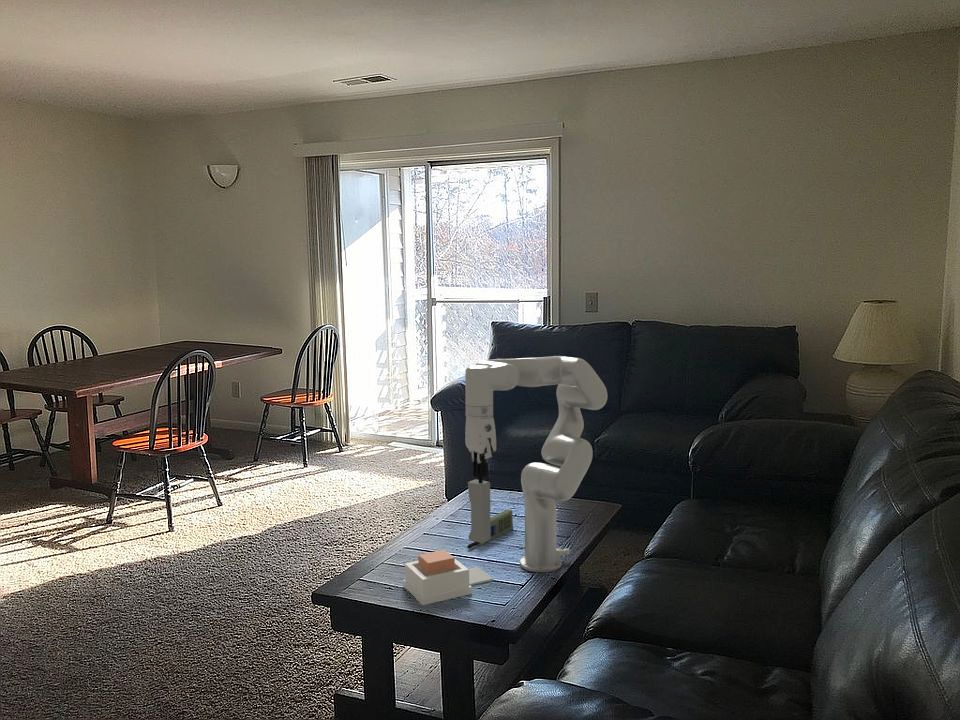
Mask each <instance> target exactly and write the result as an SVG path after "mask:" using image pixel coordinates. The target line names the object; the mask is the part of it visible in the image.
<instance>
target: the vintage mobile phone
mask: <svg viewBox="0 0 960 720" xmlns="http://www.w3.org/2000/svg"><path fill="white" fill-rule="evenodd" d="M467 489H468V498H469V502H470V523H471V524H470V527H471V528H470V532H469V534H468V540H469V541H471V542H479V543H484V542H486V541H488V540H490V539H491V528H490V518H491V483H490V481H486V480H483V477H480V478H478V479H473V480H469V481H468V482H467ZM490 541H491V540H490ZM488 542H489V541H488Z"/></svg>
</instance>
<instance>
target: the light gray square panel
mask: <svg viewBox="0 0 960 720" xmlns="http://www.w3.org/2000/svg"><path fill="white" fill-rule="evenodd" d="M468 569H469V585H470V586H471V587H472V586H476V585H479V584H484V583H488V582H492V581H494V578H493V576H491V575H489V574H488V573H487V572H485V571H484V570H482V569H481V568H480V567H478V566H474V567H470V568H468Z"/></svg>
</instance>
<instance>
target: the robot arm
mask: <svg viewBox="0 0 960 720" xmlns="http://www.w3.org/2000/svg"><path fill="white" fill-rule="evenodd" d="M464 373H465V376H464V377H465V381H464V382H465V388H464V389H465V429H464V431H465V432H464V434H465V435H464V437H465V438H464V440H465V441H464V442H465V446H466V448H467V450H468V451H469V453H470V454H471V461H472V476H473V477H475V478H478V479H479V478H480V477H482V478H485V477H487V476H488V465H487V464H488V462H489V459H492V457H493V455H492V453H496V451H497V434H496V433H497V432H496V424H495V418H494V391H510V390H513V389H514V388H515V387H517V386H518V387H527V388H537V387H543V386H553V385H555V386H556V385H557V388H556V392H555V393H556V394H555V395H556V400H557V404H558V417H557V420H556V422H555V424H554V425H553V427H552V428H551V431H550V433H549V434H548V436H547V438H546V440H545V442H544V443H543V445H542V448H541V451H540V452H541V453H540V454H541V457H542V459H543V460H544V461H545V462H547V463H543V462H538V461H537V462H535V461H534V462H530V463H528V464H526V465H525V466H524V468H523V469H522V471H521V473H520V482H521V483H520V484H521V489H522V493H523V500H524V556H523V557H521V559H520V560H519V566H520V567H521V568H522V569H524V570H526V571H529V572H533V573H551V572H554V571H557V570H559V569H560V568H561V567H562V560H561V558H562V557H563V556H568V555H570V554H571V550H570V548H563V549H562V547H557V506H556V502H555V500H556V501H560V502H565V501H568V500H570V499H571V498H572V497H573V496H574V495H575V494H576V492H577V491H578V488H579V487H580V485H581V482H582V481H583V479H584V477H585V475H586V474H587V472H588V470H589V468H590V466H591V464H592V460H593V454H594V453H593V447H592V445H591V443H590V442H589V440H586V439H584V438H582V437H581V436H582V434H583V430H584V427H585V426H584V425H585V424H584V418H583V415H582V412H581V409H583V410H585V409H586V410H591V411H598V410H600V409H602V408H603V407H604V406H606V404H607V401H608V390H607V387H606V385H605V384H604V382H603V381H602V379H601V378H600V377H599V375H598V374H597V373H596V371H595V370H594V368H593V367H592V366H591V365H590V364H589V363H588V362H587V361H586V360H585V359H584V358H580V357H572V356H563V355H553V356H542V357H539V356H538V357H521V358H495V359H494V358H493V359H482V360H480V361H478V362H476V363H475V365H470V366H468V367H466V369H465V371H464ZM548 463H549V464H548Z"/></svg>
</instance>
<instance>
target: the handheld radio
mask: <svg viewBox="0 0 960 720" xmlns="http://www.w3.org/2000/svg"><path fill="white" fill-rule="evenodd" d="M513 518H514V517H513V510H512V509H505V510H503V511H500V512H499V513H497V514H495V515H494V516H492V517H491V516H490V528H491V539H490V540H488V541H486V542H487V543H489V542H490V541H491V540H494V539H495V538H498V537H500V536H502V535H503V534H504V533H507V532H508V530H509V531H510V530H512V529H514V521H513ZM486 542H484V543H479V542H475V541H472V542H471V543H469V544H468V545H467V549H469V550H470V549H471V548H474V547H476V546H477V545H478V544H480V545H479V546H483V545H484V544H486Z"/></svg>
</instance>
